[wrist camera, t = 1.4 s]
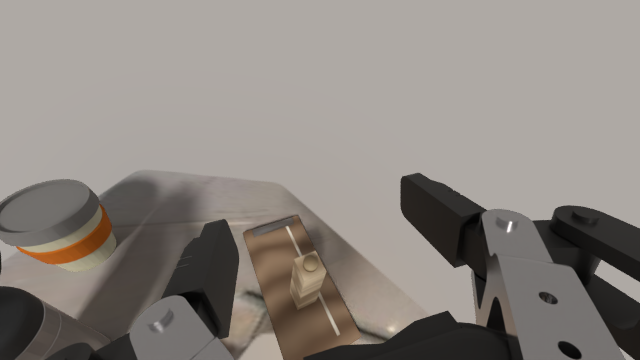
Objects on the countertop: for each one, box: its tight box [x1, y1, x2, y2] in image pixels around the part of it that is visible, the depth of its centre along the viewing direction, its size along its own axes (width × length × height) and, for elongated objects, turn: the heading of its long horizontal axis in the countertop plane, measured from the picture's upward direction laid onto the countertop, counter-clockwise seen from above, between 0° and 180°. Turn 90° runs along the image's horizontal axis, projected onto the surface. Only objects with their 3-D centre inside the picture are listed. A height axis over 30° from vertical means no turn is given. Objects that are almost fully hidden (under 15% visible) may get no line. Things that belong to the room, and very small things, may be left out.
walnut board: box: [243, 216, 361, 360], centre depth 50 cm, size 30×14×2 cm, turn 27°
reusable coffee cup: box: [0, 179, 116, 272], centre depth 44 cm, size 12×13×15 cm
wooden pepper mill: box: [290, 251, 327, 310], centre depth 42 cm, size 4×4×14 cm
